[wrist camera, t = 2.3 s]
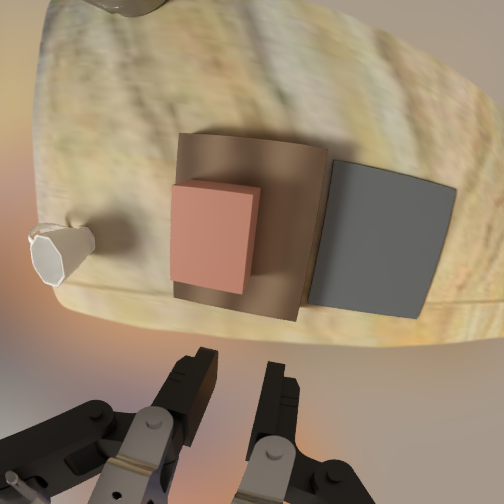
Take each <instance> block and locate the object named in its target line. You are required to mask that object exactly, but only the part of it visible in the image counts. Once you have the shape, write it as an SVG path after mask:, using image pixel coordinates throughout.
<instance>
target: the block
mask: <svg viewBox="0 0 504 504" xmlns="http://www.w3.org/2000/svg"><path fill="white" fill-rule="evenodd" d="M260 191H261V188H259V187H251V186H244V185H236V184H228V183H219V182H210V181H201V180H191V179H189V180H186V181H183V182H180V183H177V184H174V185H172V200H171V239H170V276H171V280H173V281H177V282H182V283H187V284H192V285H196V286H201V287H206V288H211V289H216V290H221V291H226V292H231V293H236V294H243V292H244V289H245V287H246V285H247V283H248V280H249V278H250V276H251V267H252V259H253V250H254V242H255V233H256V225H257V216H258V208H259V199H260Z"/></svg>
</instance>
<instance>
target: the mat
mask: <svg viewBox="0 0 504 504" xmlns="http://www.w3.org/2000/svg"><path fill="white" fill-rule="evenodd" d="M455 192H456V190H455V189H452V188H449V187H446V186H442V185H439V184H435V183H432V182H428V181H425V180H421V179H417V178H414V177H410V176H406V175H402V174H398V173H394V172H389V171H385V170H381V169H376V168H372V167H367V166H363V165H358V164H353V163H348V162H343V161H337V160H334V163H333V170H332V176H331V183H330V189H329V195H328V201H327V207H326V213H325V218H324V224H323V229H322V235H321V240H320V245H319V250H318V255H317V260H316V265H315V270H314V275H313V279H312V284H311V288H310V293H309V297H308V304H314V305H320V306H326V307H333V308H339V309H346V310H353V311H359V312H366V313H373V314H381V315H388V316H396V317H404V318H412V319H417V317H418V314H419V312H420V309H421V307H422V304H423V302H424V299H425V296H426V294H427V291H428V288H429V285H430V283H431V280H432V277H433V274H434V271H435V268H436V265H437V262H438V258H439V255H440V252H441V248H442V245H443V241H444V238H445V234H446V230H447V227H448V223H449V219H450V214H451V210H452V206H453V201H454V196H455Z"/></svg>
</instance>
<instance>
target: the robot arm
mask: <svg viewBox="0 0 504 504" xmlns="http://www.w3.org/2000/svg"><path fill="white" fill-rule="evenodd" d="M83 1H85V2H87V3H90V4H92V5H94V6H96V7H98V8H101V9H103V10H105V11H107V12H109V13H111V14H113V13H118V14H120V15H122V16H125V17H137V16H141V15H144V14H147V13H149V12H151V11H153V10H155V9H156V8H157V7H159V6H160V5H162V4H163V3H164V2H165V1H166V0H83ZM217 369H218V351H216V350H213V349H208V348H204V347H200V348H199V350H198V351H197V353H196V355H195V357H190V356H187V355H186V356H184V357H183V358H181V359H180V360H179V361H177V362H176V364H175V366H174V367H173V369H172V372H170V374H169V376H168V378H167V379H166V381H165V383H164V384H163V386H162V388H161V389H160V391H159V393H158V395H157V396H156V398H155V399H154V401H153V403H152V405H151V406H149V407H145V408H143V409H141V410H140V411H138V413H123V412H114V411H113V409H112V408H111V406H110V405H109V404H108V403H106V402H104V401H101V400H91V401H88V402H86V403H83V404H81V405H79V406H77V407H75V408H73V409H71V410H69V411H66V412H64V413H62V414H60V415H58V416H55V417H53V418H51V419H49V420H46V421H44V422H42V423H39V424H37V425H35V426H32V427H30V428H28V429H25V430H23V431H21V432H18V433H16V434H13V435H11V436H8V437H6V438H3V439H1V440H0V504H50V503H51V499H50V497H52V496H55V495H57V494H59V493H61V492H63V491H65V490H68V489H70V488H72V487H74V486H76V485H78V484H80V483H82V482H84V481H86V480H88V479H90V478H92V477H94V476H95V475H97V474H99V473H101V475H100V477H99V479H98V481H97V483H96V486H95V488H94V490H93V492H92V495H91V497H90V499H89V501H88V504H168V494H169V490H170V487H171V483H172V480H173V477H174V473H175V470H176V466H177V463H178V460H179V453H180V451H181V449H182V446H183V445H185V446H189V447H191V444H192V442H193V439H194V437H195V435H196V432H197V429H198V427H199V425H200V422H201V419H202V417H203V415H204V413H205V410H206V407H207V405H208V403H209V400H210V398H211V395H212V393H213V390H214V388H215V384H216V380H217ZM284 371H285V364H281V363H275V362H270V361H268V364H267V368H266V373H265V377H264V382H263V386H262V391H261V395H260V399H259V403H258V407H257V412H256V416H255V420H254V424H253V428H252V433H251V437H250V442H249V447H248V451H247V455H246V461H249V463H248V465H247V468H246V471H245V473H244V476H243V478H242V481H241V483H240V486H239V488H238V490H237V493H236V494H235V496H234V498H233V500H232V503H231V504H283V501H286V502H288V503H290V504H375V502H374V501H373V499H372V498H371V496H370V495H369V493H368V492H367V490H366V489H365V487H364V485H363V484H362V482H361V481H360V479H359V478H358V476H357V475H356V473H355V472H354V470H353V469H352V467H351V466H350V465H349V464H347V463H346V462H344V461H341V460H327V461H325V462H323V463H321V462H319V461H316V460H314V459H311V458H309V457H307V456H305V455H304V454H302V453H301V452H300V451H299V449H298V448H297V446H296V443H295V433H296V424H297V414H298V404H299V393H300V387H299V385H298V383H297V380H296V379H295V378H290V377H284ZM119 498H121V499H120V500H118V499H119Z"/></svg>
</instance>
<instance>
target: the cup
mask: <svg viewBox="0 0 504 504" xmlns="http://www.w3.org/2000/svg"><path fill="white" fill-rule="evenodd" d="M45 228H47V229H54V231H50V232H45V233H41V234H37V235H36V236H35V238H33V237H32V235H33V234H34V233H35V232H36V231H38V230H40V229H45ZM29 242H30V243H31V246H30V251H31V257H32V262H33V267H34V268H35V270H36V271H37V273H38V274H39V275H40V277H41V279H42V280H43V281H44V283H46V284H49V285H51V286H54V287H57V288H58V287H59V286H60V285H61V284H62V283H63V282H64V281H65V280H66V279H67V278H68V277H69V276H70V275H71V274H72V273H73V272H74V271H75V270H76V269H77V268H78V267H79V266H80V265H81V263H82V262H83V261H84V260H85V259H86V257H87V256H89V255H91V253H92V252H93V251H94V250H95V248H96V246H95V236H94V235H93V234H92V232H91V231H90V229H89V228H88V227H84V226H78V227H77V228H68V227H66V226H62V225H58V224H53V223H42V224H38V225H37V226H35V227H33V228H32V229H31V230H30V233H29Z"/></svg>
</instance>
